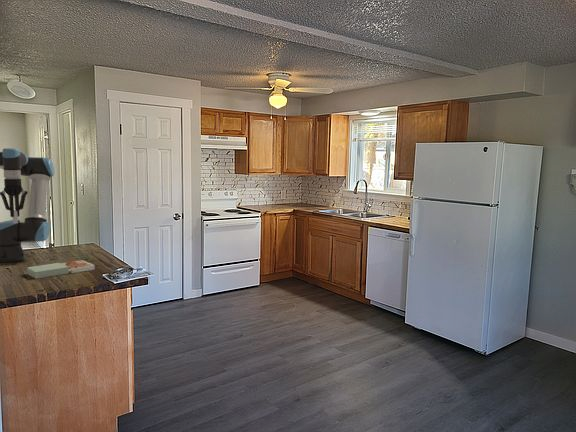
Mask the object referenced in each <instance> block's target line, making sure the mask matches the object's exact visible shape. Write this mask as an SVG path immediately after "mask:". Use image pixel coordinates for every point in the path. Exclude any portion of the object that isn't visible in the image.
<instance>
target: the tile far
mask: <svg viewBox="0 0 576 432" xmlns="http://www.w3.org/2000/svg"><path fill="white" fill-rule="evenodd" d="M79 261H80V262H77V265H76V266H75V267H74V268H79V267H85V266H86V264H85V262H86V261H85V262H83V261H84V260H83V261H81V260H79Z"/></svg>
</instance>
